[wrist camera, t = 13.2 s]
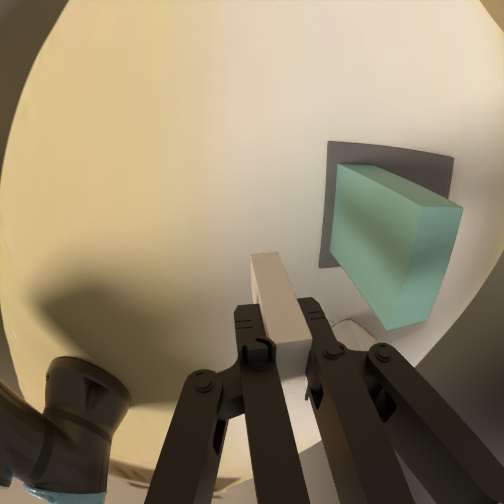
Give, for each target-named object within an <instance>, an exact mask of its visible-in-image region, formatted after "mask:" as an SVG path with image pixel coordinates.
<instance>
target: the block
mask: <svg viewBox="0 0 504 504" xmlns="http://www.w3.org/2000/svg"><path fill="white" fill-rule="evenodd" d="M462 211H463V208H462V207H461V206H459V205H457V204H455V203H453V202H451V201H450V200H448V199H446V198H444V197H442V196H440V195H438V194H436V193H434V192H432V191H430V190H428V189H426V188H424V187H422V186H420V185H418V184H415V183H413V182H411V181H409V180H407V179H405V178H402V177H400V176H398V175H395V174H393V173H391V172H388V171H386V170H384V169H381V168H379V167H376V166H373V165H357V164H337V180H336V194H335V206H334V217H333V227H332V236H331V245H330V252H331V253H332V255H333V256H334V257H335V259H336V260H337V261H338V263H339V264H340V265H341V267H342V268H343V269H344V271H345V272H346V274H347V275H348V276H349V278H350V279H351V280H352V282H353V283H354V285H355V286H356V287H357V289H358V290H359V291H360V293H361V294H362V296H363V297H364V299H365V300H366V301H367V303H368V304H369V306H370V307H371V309H372V310H373V311H374V313H375V314H376V316H377V317H378V319H379V320H380V322H381V323H382V325H383V326H384V328H385V329H386V331H388V330H392V329H396V328H400V327H404V326H407V325H411V324H415V323H418V322H422V321H425V320H427V318H428V316H429V314H430V311H431V309H432V307H433V304H434V302H435V299H436V297H437V294H438V291H439V289H440V286H441V283H442V281H443V278H444V275H445V272H446V269H447V266H448V263H449V260H450V256H451V253H452V250H453V246H454V243H455V239H456V236H457V232H458V228H459V224H460V219H461V215H462Z"/></svg>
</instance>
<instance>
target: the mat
mask: <svg viewBox="0 0 504 504" xmlns="http://www.w3.org/2000/svg"><path fill="white" fill-rule="evenodd" d="M453 162H454V158H452V157H447V156H442V155H437V154H432V153H426V152H420V151H414V150H408V149H401V148H393V147H386V146H377V145H368V144H357V143H344V142H328V147H327V172H326V190H325V204H324V217H323V229H322V240H321V250H320V259H319V269H320V268H330V267H340V266H341V265H340V264H339V263H338V261H337V260H336V259H335V257H334V256H333V255H332V253H331V252H330V245H331V236H332V227H333V217H334V206H335V194H336V180H337V164H357V165H373V166H376V167H379V168H381V169H384V170H386V171H388V172H391V173H393V174H395V175H398V176H400V177H402V178H405V179H407V180H409V181H411V182H413V183H415V184H418V185H420V186H422V187H424V188H426V189H428V190H430V191H432V192H434V193H436V194H438V195H440V196H442V197H444V198H446V199H448V196H449V190H450V184H451V177H452V170H453Z"/></svg>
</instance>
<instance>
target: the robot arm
mask: <svg viewBox="0 0 504 504" xmlns="http://www.w3.org/2000/svg"><path fill="white" fill-rule="evenodd" d="M250 261H251V293H252V300H253V304H248V305H238V306H237V308H236V310H235V312H234V320H235V332H236V342H237V351H238V358H237V361H236V362H235V364H234V365H233V366H231V367H230V368H228V369H226V370H224V371H221V372H218V373H216V372H214V371H211V370H208V369H202V370H198V371H195V372H193V373H192V374H190V375H189V376H188V377H187V379H186V381H185V383H184V386H183V389H182V392H181V395H180V398H179V400H178V403H177V406H176V409H175V412H174V415H173V418H172V421H171V424H170V426H169V429H168V432H167V435H166V438H165V441H164V444H163V447H162V450H161V453H160V456H159V459H158V462H157V465H156V468H155V471H154V474H153V477H152V480H151V483H150V487H149V490H148V493H147V496H146V499H145V502H144V504H211V500H212V496H213V492H214V487H215V482H216V478H217V473H218V468H219V464H220V459H221V454H222V450H223V445H224V440H225V436H226V431H227V426H228V421H229V419H231V418H234V417H236V416H239V415H242V414H244V413H245V420H246V428H247V435H248V442H249V450H250V457H251V464H252V470H253V477H254V483H255V490H256V497H257V503H258V504H310V500H309V496H308V492H307V488H306V484H305V480H304V476H303V472H302V467H301V463H300V459H299V455H298V451H297V447H296V443H295V439H294V435H293V430H292V426H291V422H290V418H289V414H288V410H287V406H286V402H285V397H284V393H283V389H282V384H289V383H295V382H301V381H304V380H305V375H306V377H307V380H308V386H307V390H306V394H305V401H306V400H308V397H309V398H310V402H311V405H312V408H313V411H314V415H315V418H316V422H317V425H318V428H319V432H320V435H321V438H322V442H323V445H324V449H325V452H326V455H327V459H328V462H329V466H330V469H331V472H332V476H333V480H334V483H335V486H336V490H337V493H338V497H339V501H340V504H416V503H415V502H414V500H413V498H412V495H411V492H410V489H409V487H408V484H407V482H406V479H405V476H404V474H403V471H402V469H401V467H400V464H399V461H398V459H397V457H396V454H395V452H394V449H395V451H396V452H397V453H398V454H399V456H400V457H401V458H402V460H403V461H404V462H405V463H406V465H407V466H408V467H409V469H410V470H411V471H412V473H413V474H414V475H415V476H416V478H417V479H418V480H419V481H420V483H421V484H422V485H423V487H424V488H425V489H426V490H427V492H428V493H429V494H430V496H431V497H432V498H433V499H434V501H435V502H436V503H437V504H504V467H503V466H502V465H501V464H500V463H499V461H498V460H497V459H496V458H495V456H494V455H493V454H492V453H491V452H490V450H489V449H488V448H487V447H486V446H485V445H484V443H482V441H481V440H480V439H479V438H478V437H477V436H476V434H475V433H474V432H473V431H472V430H471V429H470V428H469V426H468V425H467V424H466V423H465V422H464V421H463V420H462V419H461V418H460V416H459V415H458V414H457V413H456V412H455V411H454V410H453V409H452V408H451V407H450V405H449V404H448V403H447V402H446V401H445V400H444V399H443V398H442V397H441V396H440V395H439V394H438V392H437V391H436V390H435V389H434V388H433V387H432V386H431V385H430V384H429V383H428V382H427V381H426V380H425V379H424V378H423V377H422V376H421V375H420V374H419V372H418V371H416V369H415V368H414V367H413V366H412V365H411V364H410V363H409V362H408V361H407V360H406V359H405V358H404V357H403V356H402V355H401V354H400V353H399V352H398V351H397V350H396V349H395V348H394V347H393V346H391V345H389V344H386V343H377V344H374V345H372V346H371V347H370V349H369V351H356V350H350V349H348V348H347V347H346V346H345V345H344V344H343V343H341V342H339V341H337V339H336V337H335V335H334V333H333V331H332V329H331V327H330V325H329V323H328V321H327V319H326V317H325V314H324V312H323V310H322V308H321V306H320V304H319V303H318V302H317V301H316V300H314V299H313V298H312V297H308V298H300V299H297V298H296V296H295V293H294V291H293V289H292V286H291V284H290V281H289V279H288V276H287V274H286V272H285V269H284V267H283V264H282V262H281V260H280V257H279V255H278V252H275V253H262V254H250ZM129 402H130V396H129V393H128V391H127V390H126V388H125V387H124V386H123V385H122V384H121V383H120V382H119V381H118V380H117V379H115V378H114V377H113V376H111V375H110V374H108V373H107V372H105V371H104V370H102V369H100V368H98V367H96V366H94V365H92V364H89V363H87V362H84V361H81V360H78V359H74V358H67V357H61V358H56V359H54V360H53V361H52V362H51V364H50V366H49V368H48V370H47V373H46V389H45V408H44V411H43V414H41V413H40V412H39V411H37V410H36V409H35V408H33V407H32V406H31V405H30V404H28V403H27V402H26V401H25V400H23V399H22V398H21V397H20V396H19V395H17V394H16V393H15V392H14V391H13V390H12V389H10V387H8V386H7V385H6V384H5V383H4V382H3V381H2V380H1V379H0V489H8V488H9V487H10V484H11V481H12V477H16V478H18V479H20V480H21V481H23V482H24V484H23V485H24V488H25V491H26V492H27V493H29V494H31V495H33V496H35V497H37V498H39V499H42V500H44V501H47V502H50V503H53V504H104V501H105V495H106V494H107V490H106V488H107V477H108V467H109V458H110V450H111V443H112V437H113V435H114V433H115V431H116V430H117V428H118V427H119V425H120V423H121V422H122V420H123V418H124V416H125V415H126V413H127V411H128V407H129ZM393 448H394V449H393Z"/></svg>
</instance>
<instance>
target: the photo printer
mask: <svg viewBox="0 0 504 504" xmlns="http://www.w3.org/2000/svg"><path fill="white" fill-rule="evenodd" d="M332 331H333V333H334V335H335V337H336V339H337V341H339V342H341V343H343V344H344V345H345V346H346V347H347V348H348V349H350V350H356V351H369V349H370V347H371V346H372V345H374V344H377V343H378V342H377V341H376V340H375V339H374V338H373V337H372V336H371V335H370V334H369V333H367V332H366V331H365V330H364V329H363V328H361V327H360V326H359V325H358V324H356V323H355V322H353V321H351V320H347V321H346V320H343V321H341V322H339V323H338V324H336V325H335V326H334V327H333V328H332Z"/></svg>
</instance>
